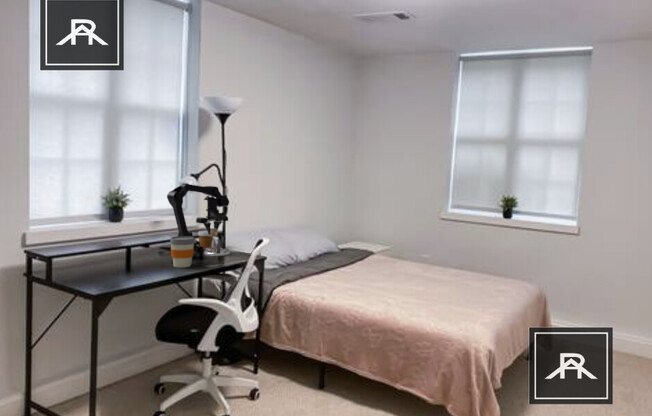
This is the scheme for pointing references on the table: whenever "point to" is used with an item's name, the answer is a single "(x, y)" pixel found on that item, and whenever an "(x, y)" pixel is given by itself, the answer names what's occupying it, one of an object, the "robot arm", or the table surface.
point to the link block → (213, 232)
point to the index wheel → (217, 250)
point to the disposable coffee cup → (205, 239)
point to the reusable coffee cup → (182, 250)
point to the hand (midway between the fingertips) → (212, 233)
